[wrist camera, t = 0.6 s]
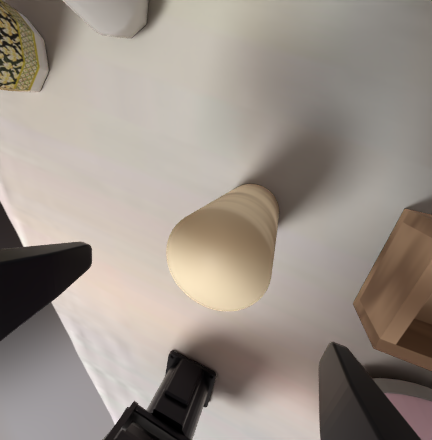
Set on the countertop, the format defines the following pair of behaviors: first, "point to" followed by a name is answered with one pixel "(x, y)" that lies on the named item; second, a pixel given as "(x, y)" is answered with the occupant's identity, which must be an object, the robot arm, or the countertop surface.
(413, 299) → the wooden square box
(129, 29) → the salt shaker
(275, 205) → the beech peg
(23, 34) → the ceramic cup
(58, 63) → the countertop surface
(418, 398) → the blender
